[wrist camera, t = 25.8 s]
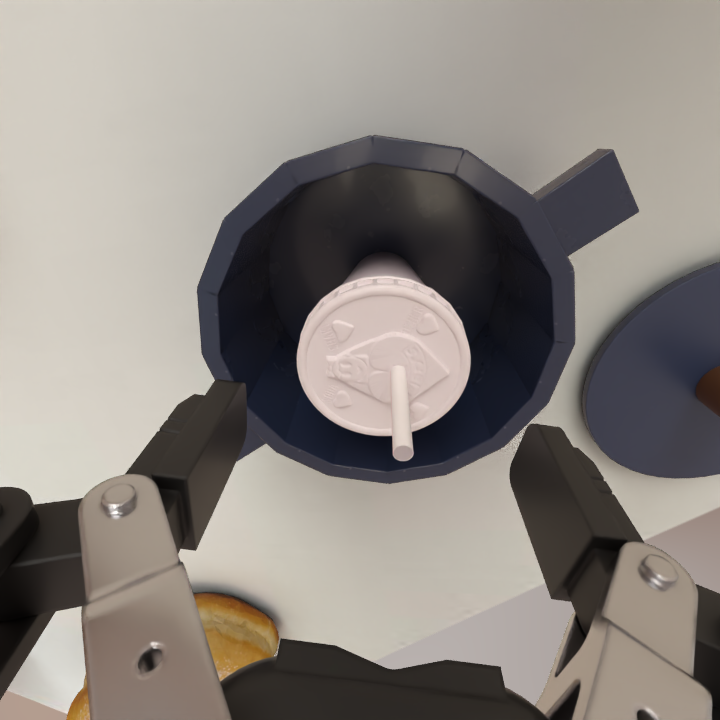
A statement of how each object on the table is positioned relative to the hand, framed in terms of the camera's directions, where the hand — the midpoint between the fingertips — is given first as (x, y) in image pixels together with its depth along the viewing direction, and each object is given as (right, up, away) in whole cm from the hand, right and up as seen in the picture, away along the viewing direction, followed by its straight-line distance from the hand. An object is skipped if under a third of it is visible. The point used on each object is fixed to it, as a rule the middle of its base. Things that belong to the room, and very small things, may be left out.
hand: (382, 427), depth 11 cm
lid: (+21, +1, +13) cm, 25 cm away
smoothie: (+1, +6, +12) cm, 13 cm away
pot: (+1, +6, +12) cm, 14 cm away
